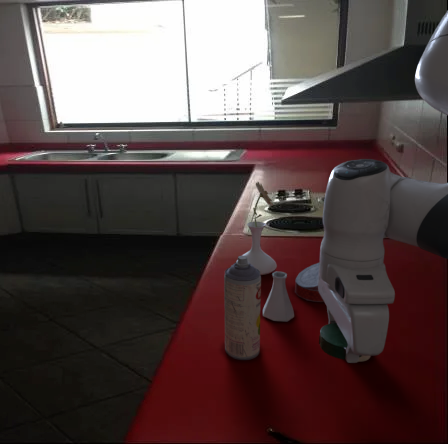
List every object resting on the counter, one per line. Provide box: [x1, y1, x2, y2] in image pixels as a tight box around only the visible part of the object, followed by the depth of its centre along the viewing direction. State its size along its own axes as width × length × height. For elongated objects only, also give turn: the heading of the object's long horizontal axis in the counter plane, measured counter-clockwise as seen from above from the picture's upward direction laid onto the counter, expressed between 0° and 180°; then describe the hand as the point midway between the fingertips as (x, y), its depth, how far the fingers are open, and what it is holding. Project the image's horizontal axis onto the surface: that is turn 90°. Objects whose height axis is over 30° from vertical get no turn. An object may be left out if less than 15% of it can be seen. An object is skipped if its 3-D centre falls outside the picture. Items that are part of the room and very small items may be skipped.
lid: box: [318, 323, 362, 361], centre depth 68 cm, size 7×7×2 cm
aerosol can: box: [223, 255, 262, 361], centre depth 80 cm, size 7×7×20 cm
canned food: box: [294, 261, 325, 303], centre depth 103 cm, size 11×10×10 cm
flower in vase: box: [235, 181, 278, 276], centre depth 115 cm, size 13×11×25 cm
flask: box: [262, 270, 295, 322], centre depth 94 cm, size 7×7×10 cm
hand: (342, 344), depth 68 cm, fingers closed on lid, 7 cm apart
